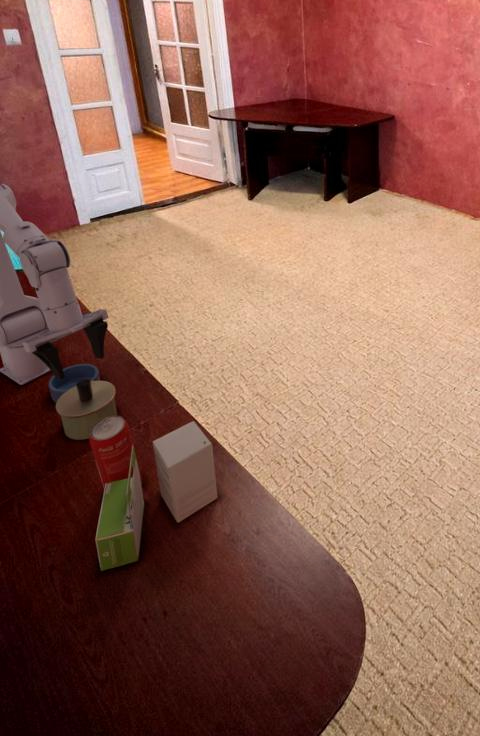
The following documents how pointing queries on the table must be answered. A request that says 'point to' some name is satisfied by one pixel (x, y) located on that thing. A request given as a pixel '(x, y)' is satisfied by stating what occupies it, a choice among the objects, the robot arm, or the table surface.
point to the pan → (72, 379)
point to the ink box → (121, 520)
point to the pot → (86, 422)
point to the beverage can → (112, 449)
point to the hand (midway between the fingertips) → (80, 367)
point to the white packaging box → (185, 470)
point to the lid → (85, 398)
